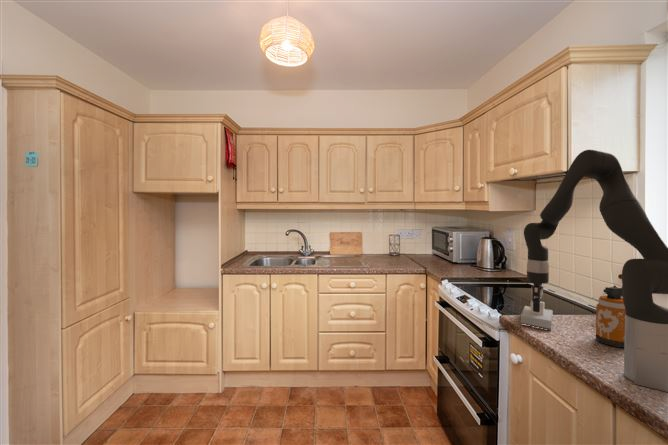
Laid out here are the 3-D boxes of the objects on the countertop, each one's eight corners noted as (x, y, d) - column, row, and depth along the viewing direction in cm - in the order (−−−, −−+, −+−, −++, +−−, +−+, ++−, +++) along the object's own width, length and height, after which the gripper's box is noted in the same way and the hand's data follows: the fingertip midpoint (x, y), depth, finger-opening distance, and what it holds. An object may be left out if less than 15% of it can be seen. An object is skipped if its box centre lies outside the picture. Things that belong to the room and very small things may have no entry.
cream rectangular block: (543, 321, 120) (543, 303, 121) (530, 319, 123) (530, 301, 124) (543, 320, 124) (544, 302, 124) (531, 317, 126) (531, 300, 127)
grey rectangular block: (550, 331, 114) (551, 320, 114) (520, 325, 121) (520, 315, 120) (552, 319, 127) (552, 310, 127) (524, 314, 133) (525, 305, 133)
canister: (589, 340, 106) (590, 284, 106) (608, 335, 110) (609, 282, 110) (621, 350, 98) (622, 290, 97) (640, 345, 102) (641, 287, 101)
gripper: (547, 274, 115) (547, 315, 116) (549, 269, 126) (548, 306, 127) (525, 272, 120) (524, 311, 120) (528, 267, 131) (528, 303, 131)
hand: (537, 309), depth 123 cm, fingers open, 8 cm apart
